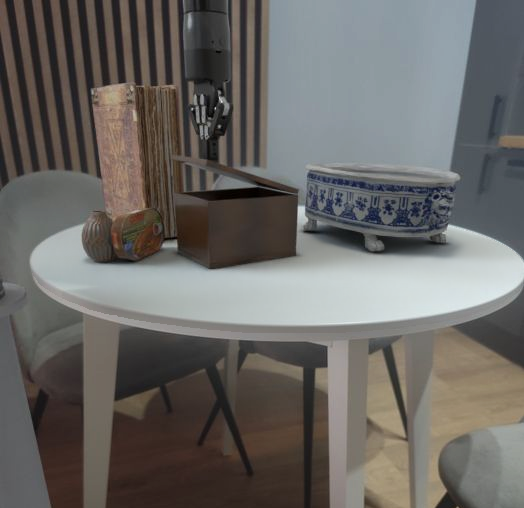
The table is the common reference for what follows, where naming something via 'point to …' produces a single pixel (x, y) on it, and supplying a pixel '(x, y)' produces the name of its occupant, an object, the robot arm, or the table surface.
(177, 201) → the chest
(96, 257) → the vase
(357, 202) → the decorative bowl
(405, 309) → the table surface
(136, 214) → the tin
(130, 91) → the book
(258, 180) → the lid
